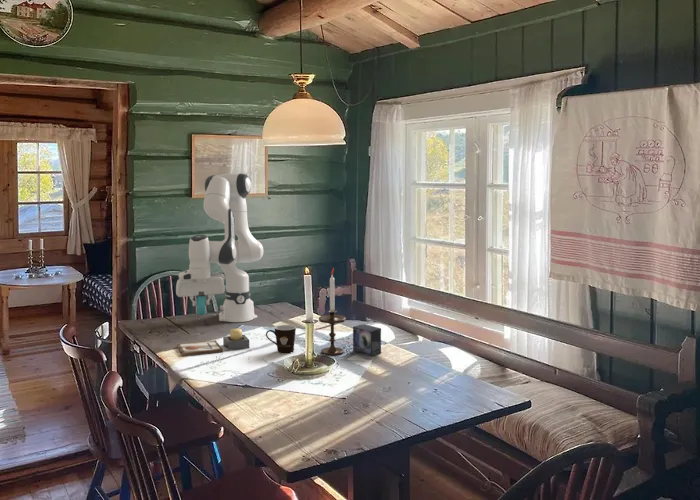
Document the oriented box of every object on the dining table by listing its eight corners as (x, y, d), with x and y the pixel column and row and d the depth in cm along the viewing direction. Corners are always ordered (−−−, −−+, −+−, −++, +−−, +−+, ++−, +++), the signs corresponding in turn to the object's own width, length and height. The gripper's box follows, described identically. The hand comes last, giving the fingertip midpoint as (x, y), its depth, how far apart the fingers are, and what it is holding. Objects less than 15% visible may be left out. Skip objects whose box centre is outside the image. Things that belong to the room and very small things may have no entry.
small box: (351, 351, 275) (351, 326, 274) (363, 348, 280) (363, 323, 279) (370, 356, 268) (370, 330, 267) (381, 353, 272) (381, 328, 271)
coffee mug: (300, 350, 277) (300, 326, 275) (288, 355, 269) (287, 331, 268) (277, 346, 283) (277, 323, 281) (264, 351, 275) (264, 327, 274)
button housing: (223, 344, 285) (223, 336, 285) (244, 342, 289) (244, 334, 288) (227, 350, 277) (227, 341, 277) (249, 347, 280) (249, 339, 280)
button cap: (228, 338, 284) (228, 329, 283) (240, 337, 286) (240, 328, 285) (231, 341, 279) (231, 332, 279) (243, 340, 281) (243, 330, 281)
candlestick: (351, 352, 274) (351, 267, 270) (332, 357, 266) (332, 270, 262) (331, 347, 281) (331, 264, 277) (313, 352, 273) (312, 267, 269)
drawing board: (177, 346, 282) (177, 343, 282) (215, 343, 288) (215, 339, 288) (182, 356, 268) (182, 353, 268) (222, 352, 274) (222, 348, 274)
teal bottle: (195, 313, 290) (194, 290, 289) (205, 312, 292) (204, 289, 290) (197, 315, 286) (196, 292, 285) (207, 314, 288) (206, 291, 286)
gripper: (222, 270, 293) (223, 301, 295) (174, 273, 286) (175, 305, 288) (225, 273, 287) (226, 304, 289) (176, 276, 280) (178, 309, 282)
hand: (200, 305), depth 288 cm, fingers closed on teal bottle, 4 cm apart
